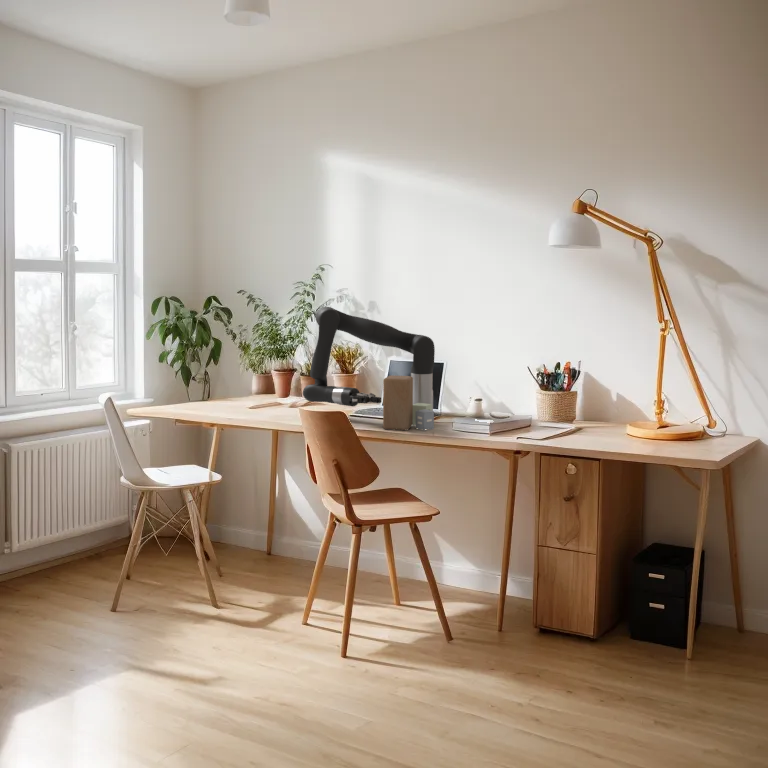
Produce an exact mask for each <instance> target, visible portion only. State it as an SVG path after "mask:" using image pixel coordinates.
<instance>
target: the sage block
mask: <svg viewBox="0 0 768 768" xmlns="http://www.w3.org/2000/svg"><path fill="white" fill-rule="evenodd" d="M425 409H426V410H431V411H432V404H426V403H416V404H413V424H412V426H416V411H418V410H425Z"/></svg>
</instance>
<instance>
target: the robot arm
mask: <svg viewBox="0 0 768 768" xmlns="http://www.w3.org/2000/svg"><path fill="white" fill-rule="evenodd" d="M315 321H316V324H317V325H318V335H317V336H318V338H317V343H316V347H315V349H314V351H313V352H314V353H313V355H312V360H311V366H310V371H309V377H310V378H311V379H314V383H313V384H307V385H305V387H304V388H303V391H302V396H303V398H304V399H305V400H306V401H308V402H313V403H327V404H329V403H330V404H336V405H340V406H344V407H345V406H346V407H347V406H348V407H356V406H357V405H358V404H365V405H366V404H371V403H372V404H373V403H374V404H380V403H382V397H381V396H377V395H375V394H374V393H372V392H370V393H365V392H360V390H359V389H358V388H356V387H349V386H334V385H328V377H327V376H328V370H329V366H330V365H329V364H330V358H331V352H332V349H333V348H332V346H333V343H334V339H335V336H336V333H337V331H341V332H344V333H346V334H349V335H351V336H353V337H355V338H357V339H359V340H362V341H365V342H368V343H370V344H373V345H379V346H382V347H389V348H395V349H399V350H403V351H405V352H408V353H410V354H411V355H413V356H412V357H413V358H412V365H411V366H410V376H411V377H412V378H413V404H416V403H426V404H432V411H434V390H433V374H434V373H433V371H434V367H435V355H436V354H435V353H436V352H435V351H436V350H435V347H436V346H435V342H434V340H433V339H432V338H431V337H429V336H426V335H422V334H416V333H410V332H406V331H401V330H399V329H397V328H396V327H393V326H390V325H389V324H385V323H383V322H379V321H376V320H373V319H368V318H364V317H360V316H355V315H351V314H348V313H345V312H342V311H340V310H337V309H335V308H333V307H331V306H324V307H321V308H319V309H318V310H317V311H316V313H315Z"/></svg>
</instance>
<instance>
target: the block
mask: <svg viewBox="0 0 768 768" xmlns="http://www.w3.org/2000/svg"><path fill="white" fill-rule="evenodd" d="M382 383H383V384H382V385H383V386H382V389H383V390H382V391H383V392H382V393H383V395H382V396H383V397H382V399H383V401H382V402H383V404H382V407H383V408H382V424H383V425H382V427H383V429H384V430H388V429H395V430H394V431H408V430H409V429H410V428H411V427H413V425H412V424H413V378H412V377H411V375H394V374H393V375H388V376H387V377H384V378H383V382H382Z"/></svg>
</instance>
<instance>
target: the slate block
mask: <svg viewBox="0 0 768 768" xmlns="http://www.w3.org/2000/svg"><path fill="white" fill-rule="evenodd" d="M416 428H418V429H417V430H420V429H423V430H422V431H426V430H425V429H430V430H434V429H435V411H434V410H433V411H431V410H426V409H425V410H418V411H416V425H415V429H416Z"/></svg>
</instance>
